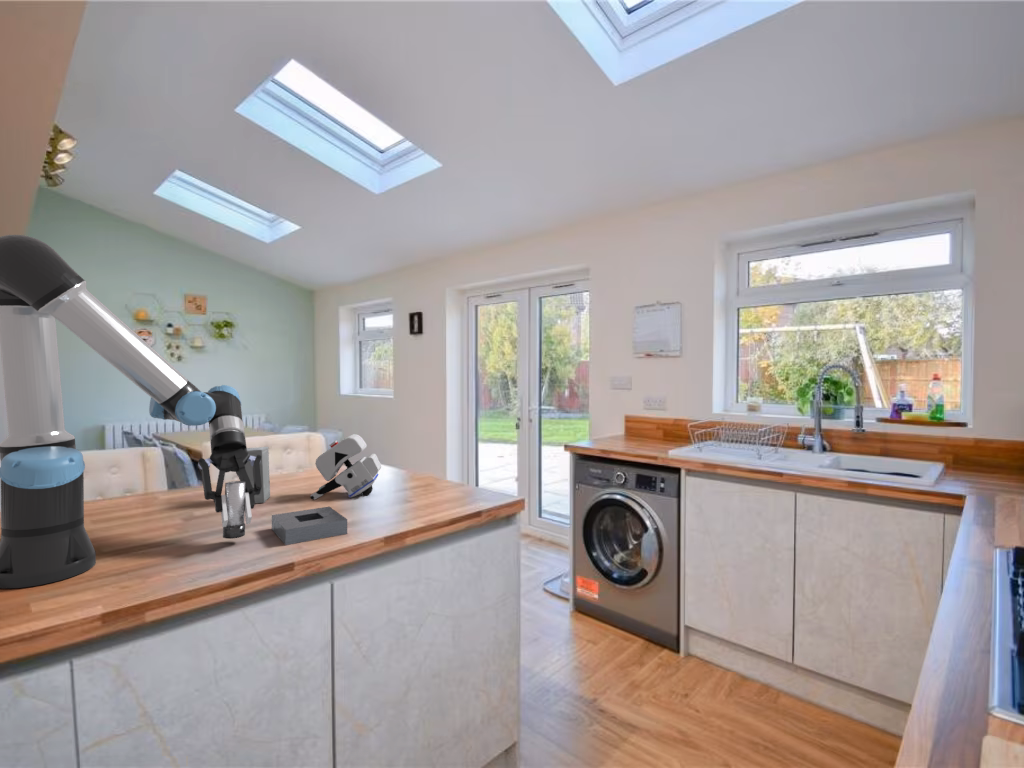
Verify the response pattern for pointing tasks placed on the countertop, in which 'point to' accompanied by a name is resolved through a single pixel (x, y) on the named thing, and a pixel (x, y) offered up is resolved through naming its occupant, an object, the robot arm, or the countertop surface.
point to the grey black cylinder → (235, 509)
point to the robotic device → (355, 475)
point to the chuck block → (308, 525)
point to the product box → (263, 470)
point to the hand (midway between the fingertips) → (237, 521)
